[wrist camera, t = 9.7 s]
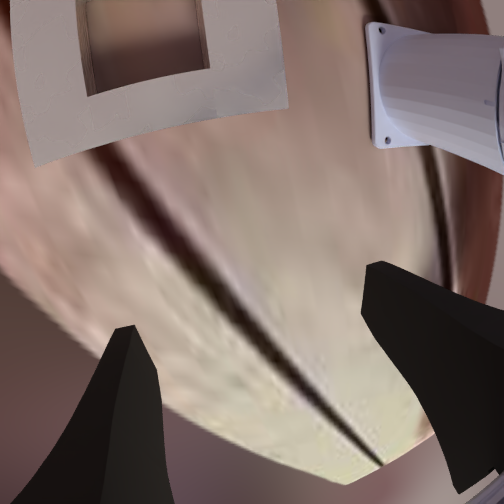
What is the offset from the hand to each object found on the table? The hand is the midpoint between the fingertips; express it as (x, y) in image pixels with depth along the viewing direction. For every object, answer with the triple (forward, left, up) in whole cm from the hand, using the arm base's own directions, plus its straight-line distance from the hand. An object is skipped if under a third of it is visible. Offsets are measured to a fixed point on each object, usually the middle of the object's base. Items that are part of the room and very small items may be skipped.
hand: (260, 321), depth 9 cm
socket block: (+2, -10, -9) cm, 14 cm away
